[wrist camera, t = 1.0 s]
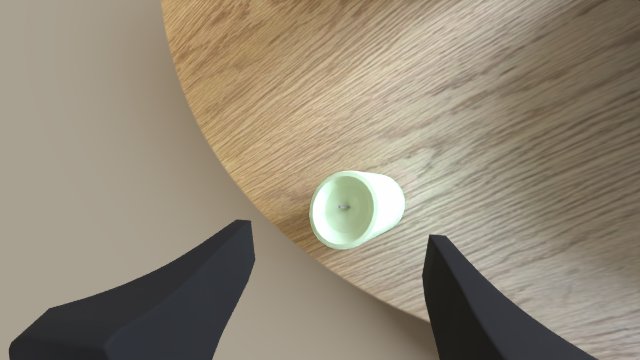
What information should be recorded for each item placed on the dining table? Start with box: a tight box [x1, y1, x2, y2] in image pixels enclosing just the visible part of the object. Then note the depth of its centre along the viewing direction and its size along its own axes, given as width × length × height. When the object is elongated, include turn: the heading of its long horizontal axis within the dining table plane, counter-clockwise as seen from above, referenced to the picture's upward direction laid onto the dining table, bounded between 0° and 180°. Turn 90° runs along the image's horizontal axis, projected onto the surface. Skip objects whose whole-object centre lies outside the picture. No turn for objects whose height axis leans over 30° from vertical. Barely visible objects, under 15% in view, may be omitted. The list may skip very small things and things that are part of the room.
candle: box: [309, 171, 405, 250], centre depth 24 cm, size 5×5×8 cm
